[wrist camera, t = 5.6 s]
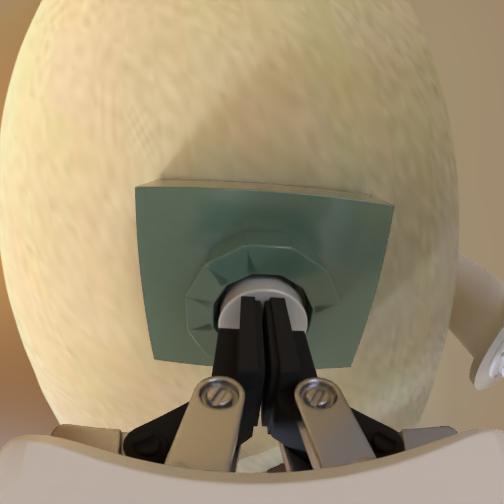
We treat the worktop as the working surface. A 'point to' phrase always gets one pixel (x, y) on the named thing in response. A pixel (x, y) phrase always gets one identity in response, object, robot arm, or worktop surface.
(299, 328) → the grey round knob
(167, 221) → the base
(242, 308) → the robot arm
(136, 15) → the worktop surface
